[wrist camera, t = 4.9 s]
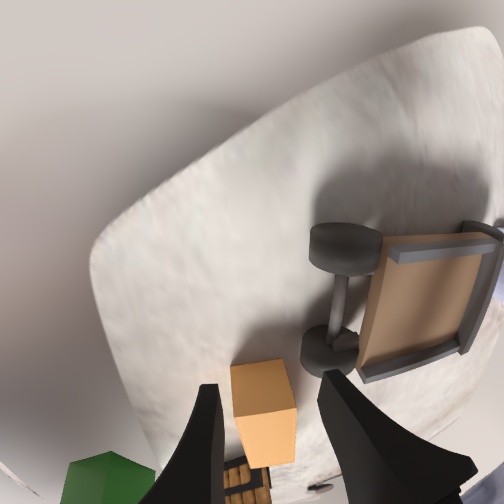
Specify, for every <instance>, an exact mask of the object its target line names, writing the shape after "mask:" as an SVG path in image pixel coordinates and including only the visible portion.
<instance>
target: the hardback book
mask: <svg viewBox="0 0 504 504" xmlns="http://www.w3.org/2000/svg"><path fill="white" fill-rule="evenodd" d="M155 472H156V471H154V470H152V469H150V468H147V467H145V466H142V465H140V464H137V463H135V462H133V461H131V460H129V459H126V458H125V457H122V456H120V455H118V454H116V453H114V452H112V451H109V452H106V453H103V454H100V455H97V456H93V457H90V458H86V459H83V460H79V461H75V462H71V463H70V465H69V468H68V472H67V476H66V480H65V484H64V489H63V493H62V497H61V502H60V504H137V503H138V502H139V501H140V500H141V499H142V498H143V496H144V495H145V494H146V493H147V492H148V491H149V489H150V488H151V487H152V486H153V484H154V483H155Z"/></svg>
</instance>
